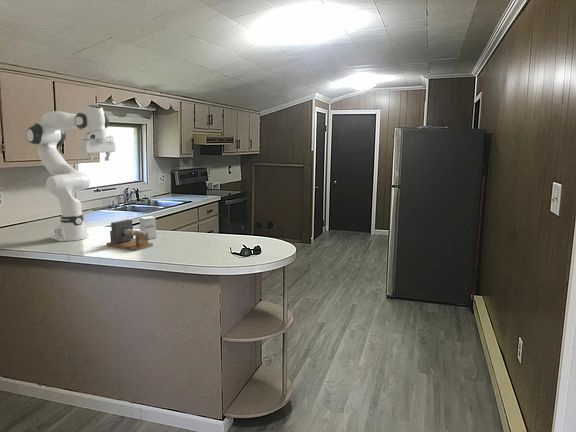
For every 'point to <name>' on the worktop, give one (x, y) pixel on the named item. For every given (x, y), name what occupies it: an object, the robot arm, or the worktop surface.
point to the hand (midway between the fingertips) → (100, 161)
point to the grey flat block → (117, 231)
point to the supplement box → (148, 226)
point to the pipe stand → (131, 244)
